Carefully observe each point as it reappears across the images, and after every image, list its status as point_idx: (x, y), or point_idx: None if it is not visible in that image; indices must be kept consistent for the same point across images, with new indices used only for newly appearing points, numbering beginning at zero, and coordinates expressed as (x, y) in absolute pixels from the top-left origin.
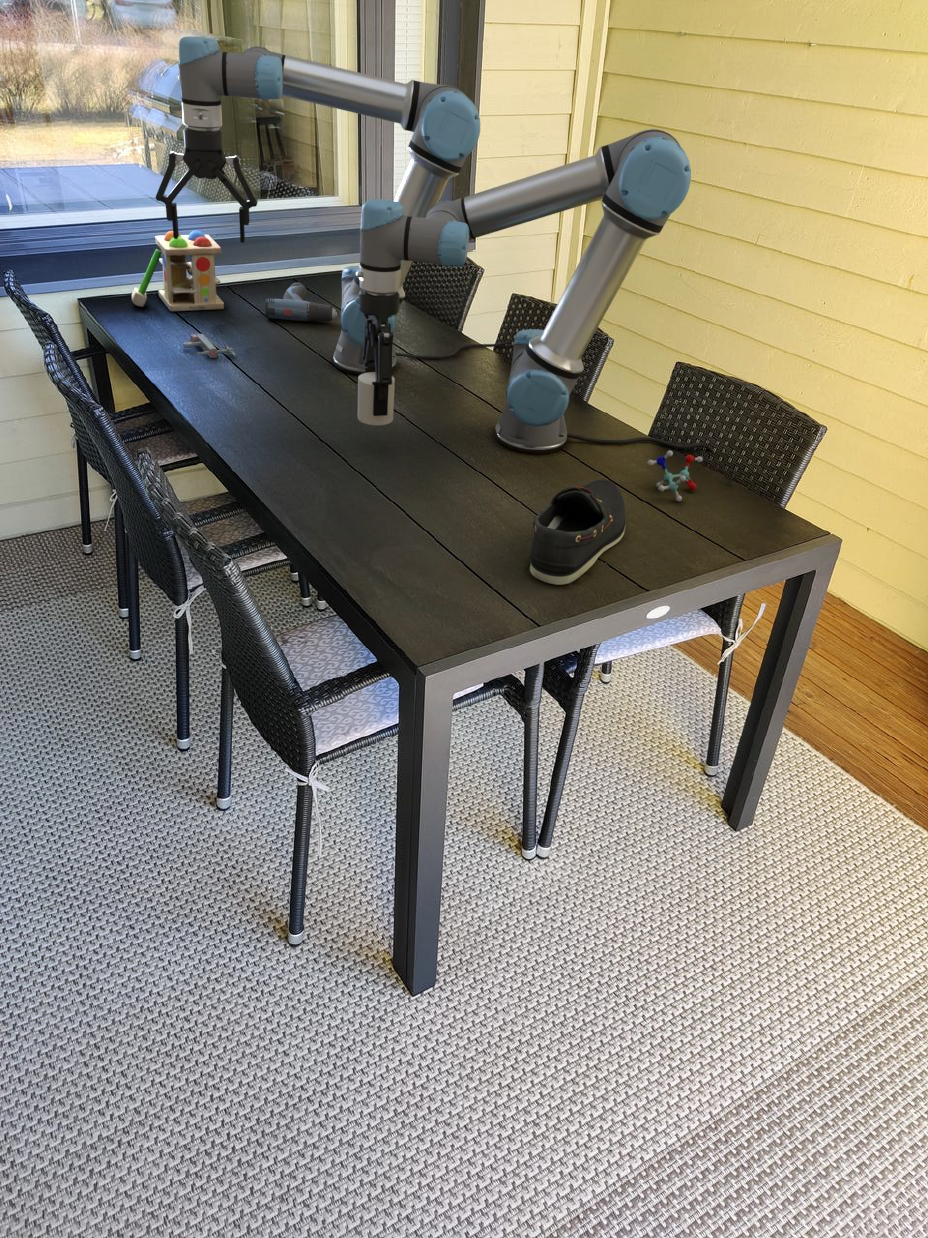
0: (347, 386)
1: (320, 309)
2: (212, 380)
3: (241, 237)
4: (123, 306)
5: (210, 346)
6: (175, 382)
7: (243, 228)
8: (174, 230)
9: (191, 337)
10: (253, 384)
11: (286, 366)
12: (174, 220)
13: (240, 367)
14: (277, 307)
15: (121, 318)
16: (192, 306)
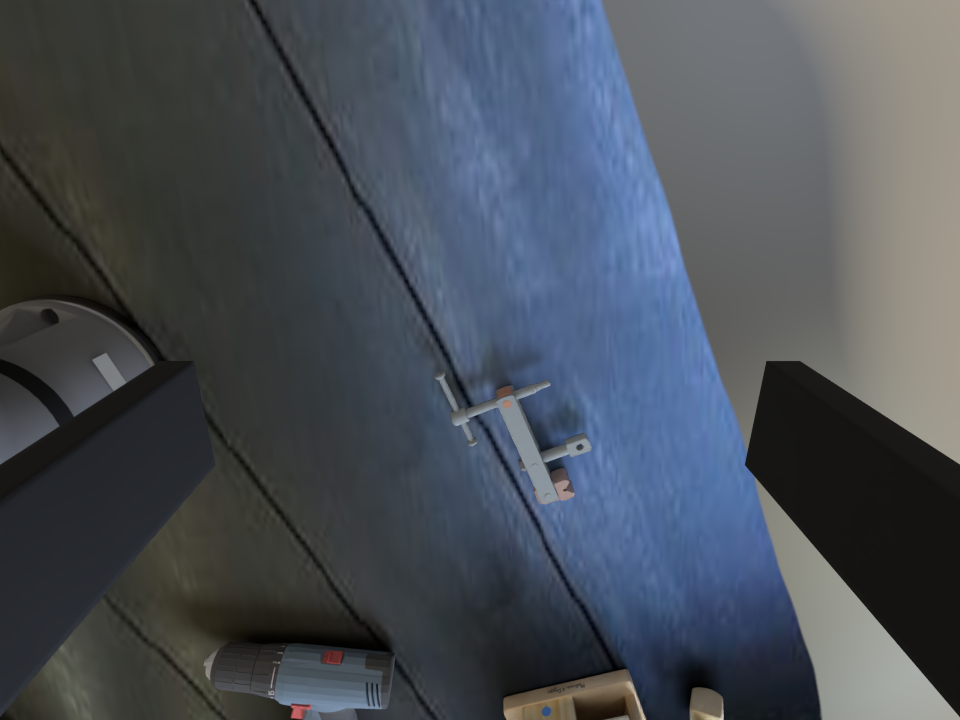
0: (92, 206)
1: (241, 666)
2: (494, 217)
3: (157, 376)
4: (737, 687)
5: (513, 415)
6: (600, 190)
7: (72, 419)
8: (830, 391)
9: (570, 488)
10: (372, 195)
11: (298, 348)
12: (895, 442)
13: (424, 327)
14: (358, 671)
15: (743, 620)
16: (577, 688)
